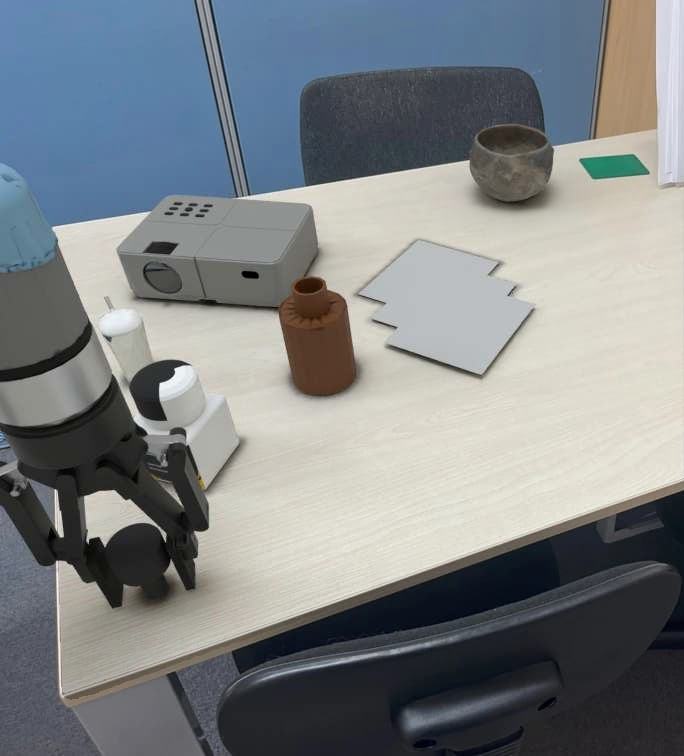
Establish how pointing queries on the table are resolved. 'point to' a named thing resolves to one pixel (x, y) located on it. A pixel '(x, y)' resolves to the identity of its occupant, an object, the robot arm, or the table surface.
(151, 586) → the stopper
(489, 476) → the table surface
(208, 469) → the medicine bottle
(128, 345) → the milkshake
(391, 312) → the paper stack
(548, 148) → the bowl
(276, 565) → the table surface
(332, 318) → the bottle
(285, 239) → the projector
